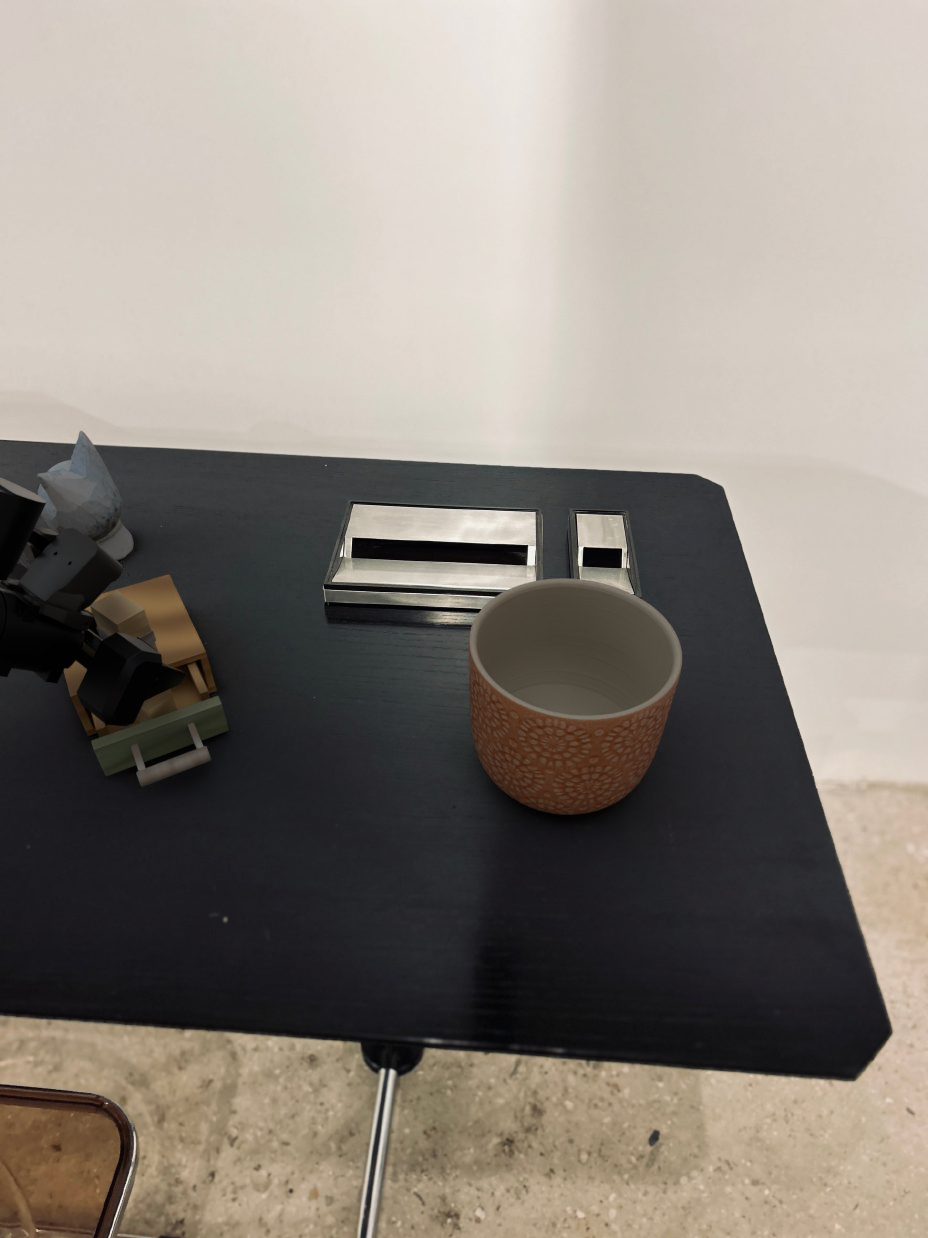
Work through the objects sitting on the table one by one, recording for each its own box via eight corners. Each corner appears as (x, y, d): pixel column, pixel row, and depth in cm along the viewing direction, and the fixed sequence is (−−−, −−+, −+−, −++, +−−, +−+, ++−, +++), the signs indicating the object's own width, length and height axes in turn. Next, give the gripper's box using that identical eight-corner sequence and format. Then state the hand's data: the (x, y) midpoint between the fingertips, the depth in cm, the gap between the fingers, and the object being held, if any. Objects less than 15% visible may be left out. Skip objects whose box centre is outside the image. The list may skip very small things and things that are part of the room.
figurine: (99, 524, 102) (63, 417, 93) (151, 542, 99) (119, 434, 89) (37, 563, 96) (-10, 452, 86) (91, 584, 92) (48, 472, 83)
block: (156, 737, 72) (116, 625, 63) (130, 715, 74) (87, 605, 65) (182, 719, 74) (146, 608, 65) (155, 699, 75) (117, 589, 67)
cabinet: (216, 690, 79) (206, 651, 76) (88, 736, 74) (70, 696, 71) (180, 612, 89) (169, 573, 85) (64, 647, 84) (47, 609, 80)
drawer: (244, 764, 71) (237, 737, 68) (116, 815, 66) (104, 788, 64) (191, 647, 83) (183, 621, 80) (80, 684, 78) (68, 657, 76)
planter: (679, 829, 67) (717, 706, 57) (483, 855, 65) (489, 731, 55) (618, 689, 80) (642, 569, 70) (454, 707, 78) (454, 586, 68)
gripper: (102, 572, 52) (258, 616, 65) (-35, 481, 60) (129, 537, 74) (30, 722, 52) (201, 735, 66) (-96, 610, 61) (78, 642, 74)
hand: (150, 655), depth 70 cm, fingers open, 9 cm apart
